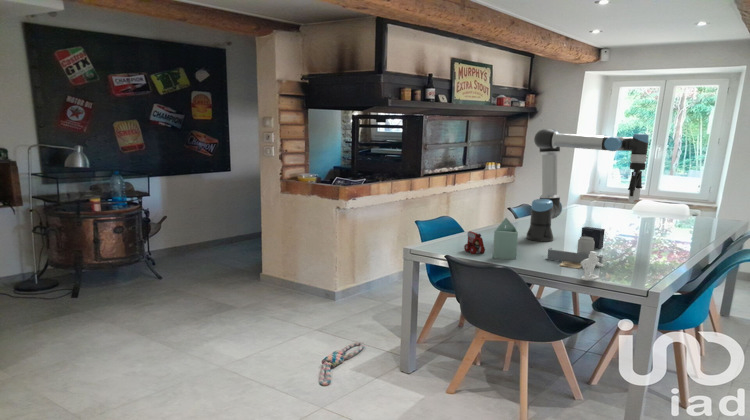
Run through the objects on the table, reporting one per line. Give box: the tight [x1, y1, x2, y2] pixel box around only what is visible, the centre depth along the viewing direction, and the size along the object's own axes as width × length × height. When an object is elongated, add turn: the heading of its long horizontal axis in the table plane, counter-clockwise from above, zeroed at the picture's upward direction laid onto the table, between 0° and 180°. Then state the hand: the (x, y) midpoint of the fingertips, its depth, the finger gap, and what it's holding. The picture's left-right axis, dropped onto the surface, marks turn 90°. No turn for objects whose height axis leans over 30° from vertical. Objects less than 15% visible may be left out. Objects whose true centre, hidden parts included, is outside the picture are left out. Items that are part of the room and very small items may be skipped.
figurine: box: [580, 250, 606, 281], centre depth 210 cm, size 9×7×12 cm
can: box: [576, 236, 595, 254], centre depth 240 cm, size 8×8×12 cm
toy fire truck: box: [463, 230, 486, 255], centre depth 253 cm, size 7×12×10 cm, turn 24°
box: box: [580, 226, 606, 250], centre depth 273 cm, size 11×7×10 cm, turn 47°
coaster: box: [559, 261, 583, 270], centre depth 232 cm, size 9×9×1 cm
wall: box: [546, 247, 604, 268], centre depth 238 cm, size 24×4×5 cm, turn 59°
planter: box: [492, 217, 519, 260], centre depth 244 cm, size 16×8×20 cm, turn 126°
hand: (633, 201), depth 269 cm, fingers open, 13 cm apart
